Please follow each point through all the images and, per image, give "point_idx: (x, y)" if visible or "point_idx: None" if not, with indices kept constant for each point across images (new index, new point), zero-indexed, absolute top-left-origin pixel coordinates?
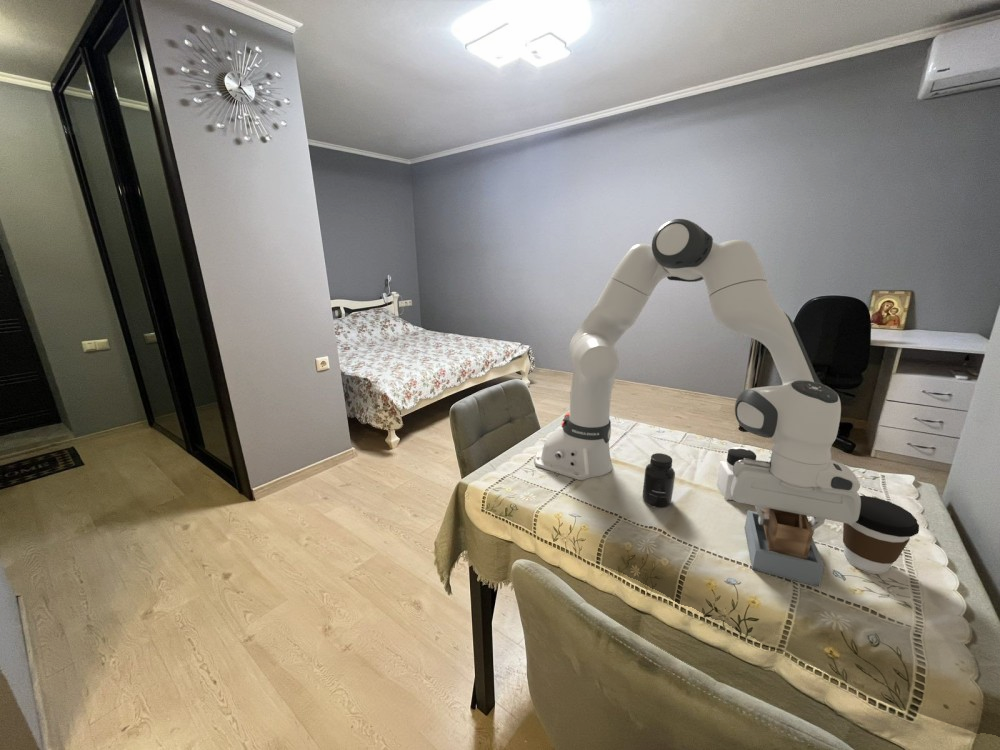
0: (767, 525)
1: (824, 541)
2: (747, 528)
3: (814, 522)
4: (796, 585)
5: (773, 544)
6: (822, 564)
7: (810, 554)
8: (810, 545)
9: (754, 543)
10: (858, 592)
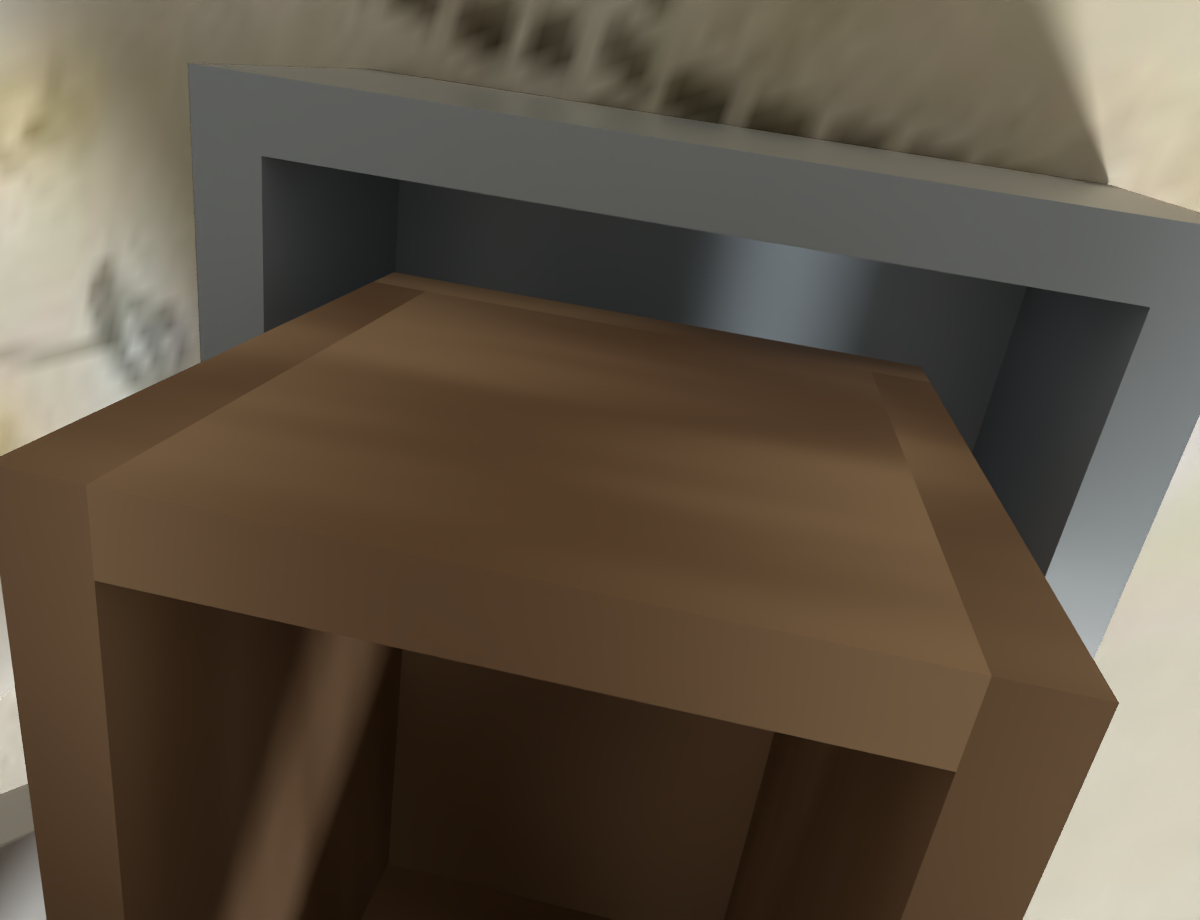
0: None
1: None
2: None
3: (1, 907)
4: (621, 16)
5: (897, 402)
6: (203, 125)
7: None
8: None
9: (1180, 452)
10: (11, 99)
